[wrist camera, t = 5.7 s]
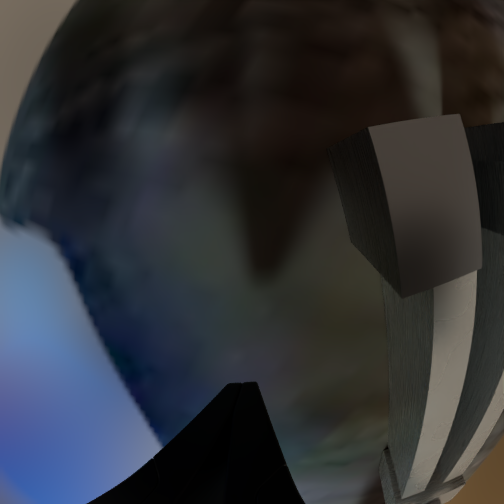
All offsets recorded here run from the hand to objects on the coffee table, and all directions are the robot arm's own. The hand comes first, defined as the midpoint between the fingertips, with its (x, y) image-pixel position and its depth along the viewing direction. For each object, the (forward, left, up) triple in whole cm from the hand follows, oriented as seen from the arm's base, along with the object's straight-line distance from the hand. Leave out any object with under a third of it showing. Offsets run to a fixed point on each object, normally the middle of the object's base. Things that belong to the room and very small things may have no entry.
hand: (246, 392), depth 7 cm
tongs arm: (-1, -5, -3) cm, 6 cm away
